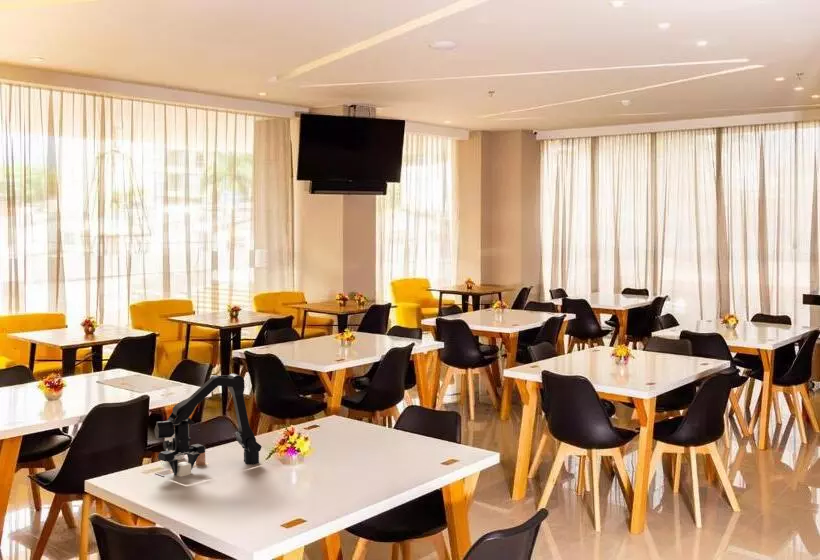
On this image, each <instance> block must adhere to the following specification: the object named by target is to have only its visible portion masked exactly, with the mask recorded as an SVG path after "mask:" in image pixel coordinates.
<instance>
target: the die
mask: <svg viewBox="0 0 820 560" xmlns="http://www.w3.org/2000/svg"><path fill="white" fill-rule="evenodd" d="M189 475H192V470H191V464H190V463H188V461H181V462H178V465H177V475H176V476H177V477H185V476H189Z"/></svg>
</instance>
